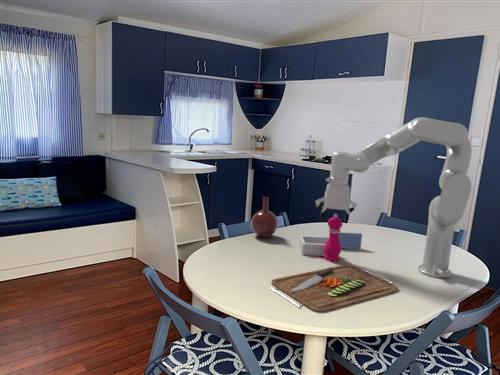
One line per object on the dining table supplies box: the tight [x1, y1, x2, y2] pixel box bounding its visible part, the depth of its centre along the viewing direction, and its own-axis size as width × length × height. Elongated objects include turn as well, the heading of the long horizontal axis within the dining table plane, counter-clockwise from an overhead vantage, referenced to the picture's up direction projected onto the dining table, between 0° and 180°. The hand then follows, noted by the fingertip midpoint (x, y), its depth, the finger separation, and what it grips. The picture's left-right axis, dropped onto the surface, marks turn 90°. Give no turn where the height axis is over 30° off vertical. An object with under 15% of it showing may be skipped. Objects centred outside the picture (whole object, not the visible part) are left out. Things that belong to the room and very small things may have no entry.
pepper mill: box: [323, 213, 343, 263], centre depth 177 cm, size 7×7×20 cm
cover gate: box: [339, 231, 363, 249], centre depth 194 cm, size 13×1×8 cm, turn 91°
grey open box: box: [298, 235, 329, 257], centre depth 188 cm, size 12×15×5 cm
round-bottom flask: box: [250, 195, 279, 238], centre depth 204 cm, size 13×13×20 cm
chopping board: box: [270, 264, 399, 313], centre depth 150 cm, size 45×27×3 cm, turn 122°
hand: (333, 221), depth 176 cm, fingers open, 9 cm apart
